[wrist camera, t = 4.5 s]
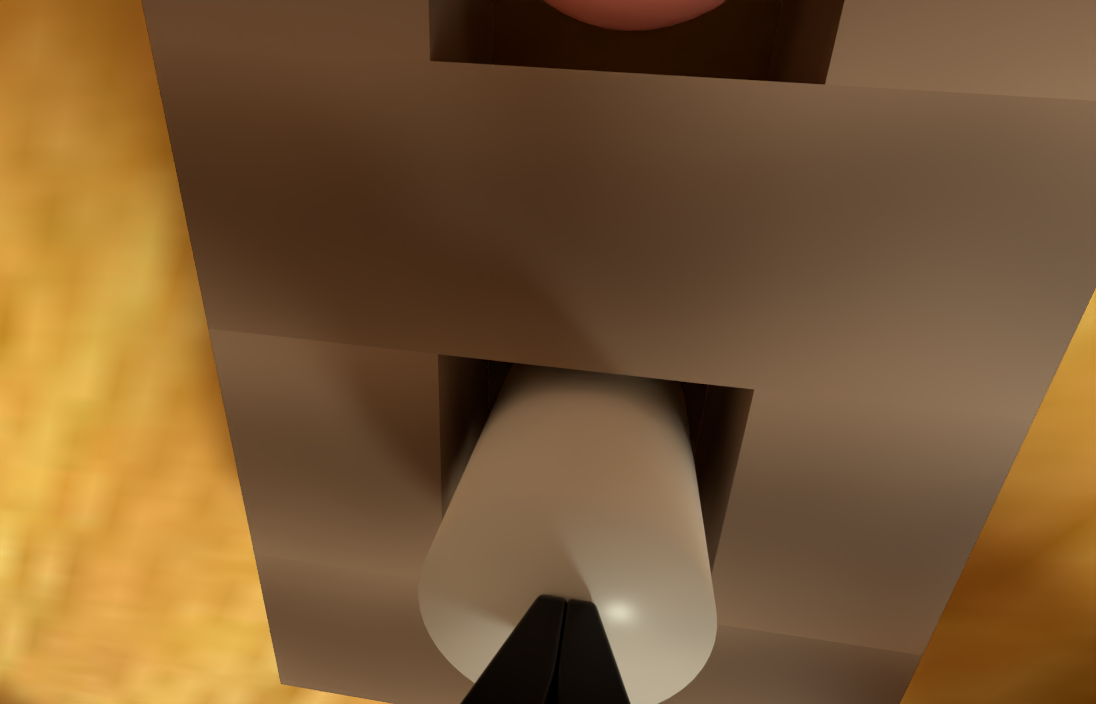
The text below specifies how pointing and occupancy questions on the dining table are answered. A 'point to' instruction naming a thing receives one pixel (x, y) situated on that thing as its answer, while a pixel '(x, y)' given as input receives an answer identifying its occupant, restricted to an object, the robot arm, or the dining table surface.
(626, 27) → the red plunger
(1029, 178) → the press panel
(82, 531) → the dining table surface
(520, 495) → the grey plunger
